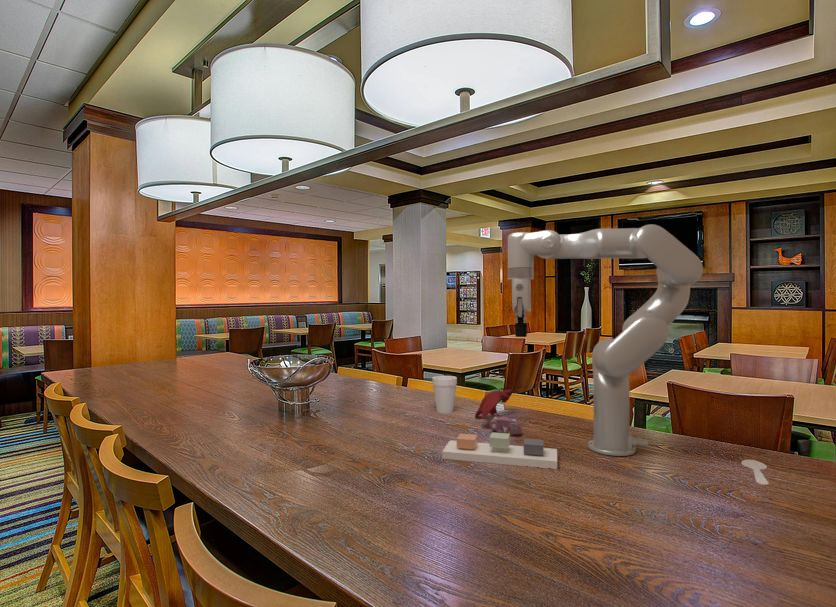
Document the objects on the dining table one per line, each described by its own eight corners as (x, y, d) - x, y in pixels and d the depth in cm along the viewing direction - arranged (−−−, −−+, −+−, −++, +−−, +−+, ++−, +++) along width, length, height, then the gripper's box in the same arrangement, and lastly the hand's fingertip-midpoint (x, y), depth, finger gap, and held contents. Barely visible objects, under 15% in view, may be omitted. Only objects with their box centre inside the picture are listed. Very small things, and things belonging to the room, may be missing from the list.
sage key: (509, 442, 128) (509, 433, 128) (508, 448, 123) (508, 439, 123) (491, 441, 129) (491, 432, 129) (489, 446, 125) (489, 437, 125)
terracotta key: (477, 443, 131) (477, 434, 131) (474, 449, 126) (474, 440, 126) (460, 442, 132) (460, 433, 132) (456, 447, 127) (456, 438, 127)
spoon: (749, 483, 108) (749, 481, 108) (739, 459, 124) (739, 457, 124) (777, 488, 106) (777, 485, 106) (764, 463, 121) (764, 461, 121)
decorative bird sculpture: (475, 442, 154) (505, 412, 149) (456, 420, 157) (485, 390, 152) (499, 421, 179) (525, 395, 175) (482, 403, 182) (507, 377, 178)
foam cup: (428, 410, 180) (428, 376, 180) (449, 407, 184) (449, 374, 184) (439, 415, 172) (439, 380, 171) (461, 412, 175) (461, 378, 175)
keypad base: (557, 456, 127) (556, 448, 127) (557, 469, 117) (557, 461, 117) (450, 447, 135) (450, 440, 135) (442, 458, 126) (442, 451, 126)
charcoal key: (543, 449, 126) (543, 439, 125) (543, 455, 121) (543, 445, 121) (524, 447, 127) (524, 438, 127) (523, 453, 122) (523, 444, 122)
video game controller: (490, 437, 150) (486, 420, 147) (494, 428, 153) (490, 411, 150) (520, 441, 145) (517, 424, 142) (523, 431, 149) (520, 414, 146)
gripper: (532, 273, 129) (533, 339, 129) (534, 275, 143) (535, 334, 143) (505, 273, 131) (505, 338, 131) (510, 276, 145) (510, 334, 145)
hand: (521, 336), depth 137 cm, fingers closed
